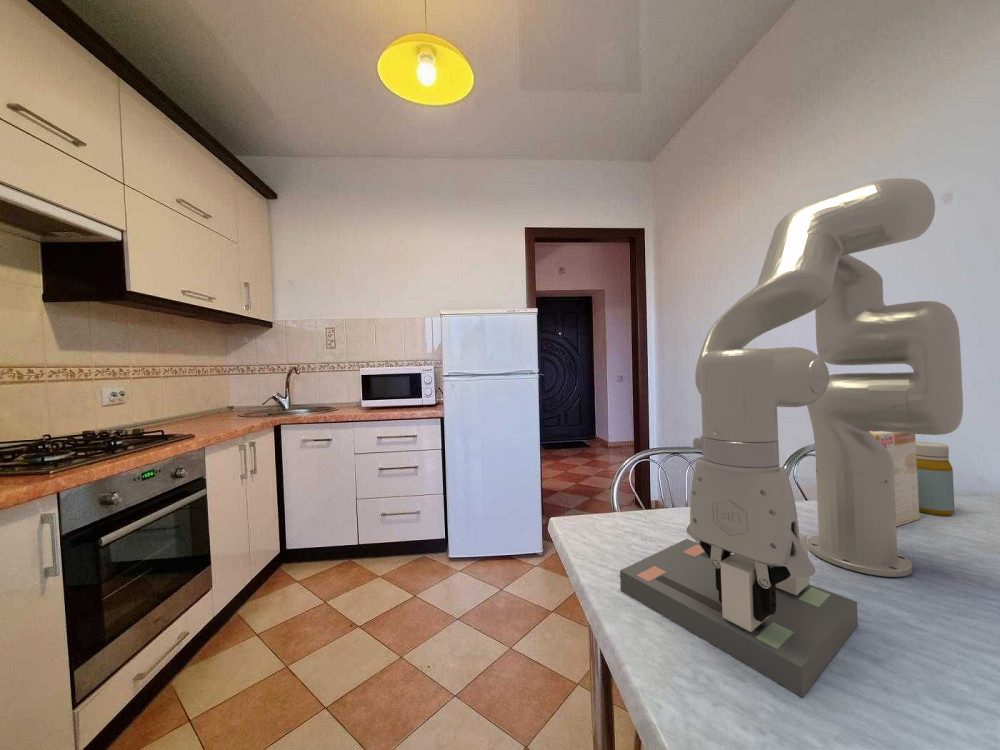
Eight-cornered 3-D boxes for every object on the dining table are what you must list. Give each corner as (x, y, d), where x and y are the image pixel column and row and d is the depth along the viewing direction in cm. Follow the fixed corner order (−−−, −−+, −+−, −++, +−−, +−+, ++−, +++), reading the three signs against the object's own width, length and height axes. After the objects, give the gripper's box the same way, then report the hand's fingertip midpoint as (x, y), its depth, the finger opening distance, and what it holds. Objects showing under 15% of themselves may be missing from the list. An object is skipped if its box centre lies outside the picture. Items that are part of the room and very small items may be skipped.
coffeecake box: (876, 508, 82) (873, 424, 82) (922, 519, 75) (918, 427, 75) (837, 519, 77) (833, 429, 77) (882, 532, 70) (877, 433, 70)
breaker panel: (687, 555, 63) (686, 538, 63) (857, 625, 45) (856, 601, 45) (620, 590, 54) (619, 570, 54) (802, 697, 35) (801, 666, 35)
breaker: (782, 574, 51) (780, 527, 51) (809, 583, 48) (807, 535, 48) (769, 584, 48) (767, 535, 49) (796, 595, 46) (794, 544, 46)
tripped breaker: (740, 603, 45) (738, 551, 45) (768, 617, 42) (766, 561, 42) (722, 617, 42) (720, 561, 42) (751, 632, 40) (748, 572, 40)
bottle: (965, 517, 76) (962, 447, 76) (925, 516, 77) (922, 446, 77) (933, 505, 82) (930, 441, 83) (896, 504, 84) (894, 441, 84)
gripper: (657, 446, 47) (662, 585, 47) (815, 472, 33) (824, 668, 33) (689, 440, 51) (694, 568, 51) (841, 460, 37) (849, 635, 37)
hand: (745, 606), depth 42 cm, fingers closed on tripped breaker, 3 cm apart
